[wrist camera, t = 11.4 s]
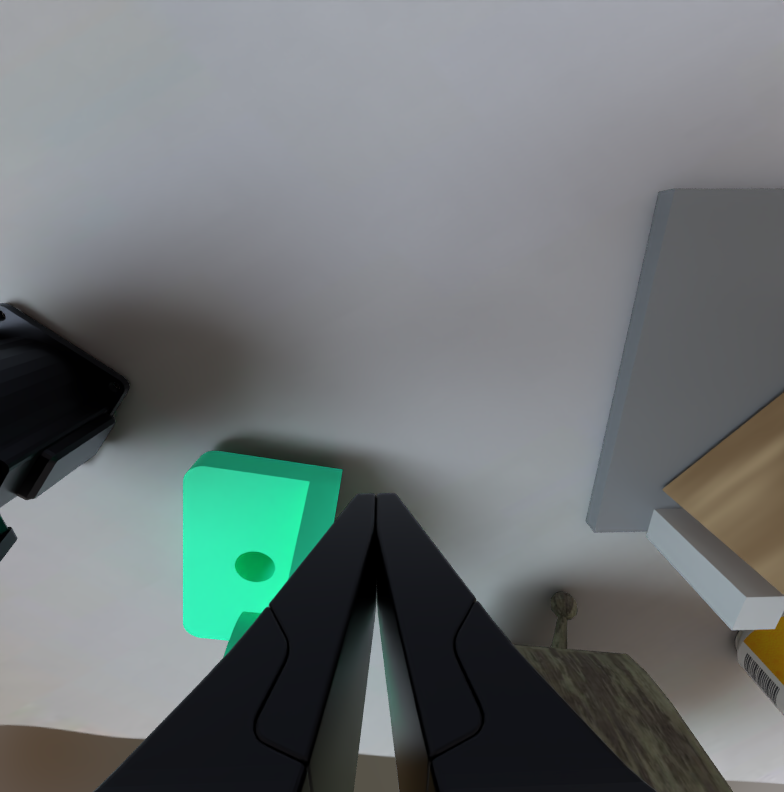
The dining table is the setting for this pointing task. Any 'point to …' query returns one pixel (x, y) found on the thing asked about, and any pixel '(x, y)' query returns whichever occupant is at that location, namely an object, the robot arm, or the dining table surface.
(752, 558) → the door
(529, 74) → the dining table surface
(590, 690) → the tabletop clock
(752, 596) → the housing stand
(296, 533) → the camera mount
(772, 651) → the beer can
